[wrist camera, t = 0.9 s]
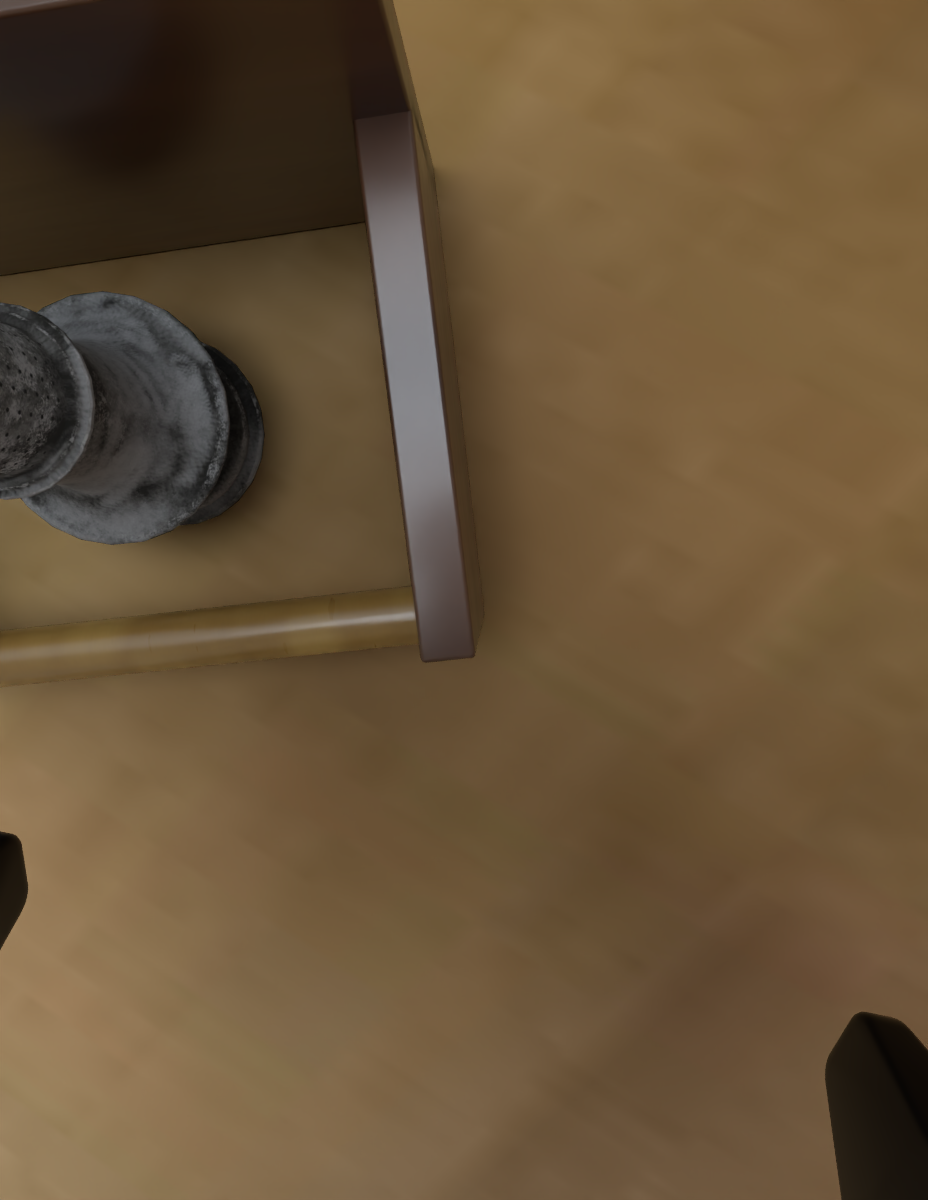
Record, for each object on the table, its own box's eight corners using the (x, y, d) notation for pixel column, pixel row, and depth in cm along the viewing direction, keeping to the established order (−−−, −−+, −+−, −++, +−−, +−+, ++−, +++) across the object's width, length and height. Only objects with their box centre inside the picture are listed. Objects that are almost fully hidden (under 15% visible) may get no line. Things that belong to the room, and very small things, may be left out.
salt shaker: (312, 396, 21) (63, 278, 9) (212, 574, 22) (-132, 671, 10) (131, 282, 21) (-353, 18, 9) (37, 466, 22) (-513, 438, 10)
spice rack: (485, 616, 22) (462, 720, 12) (-54, 673, 23) (-475, 809, 13) (432, 164, 20) (357, -147, 10) (-144, 251, 22) (-699, 50, 12)
